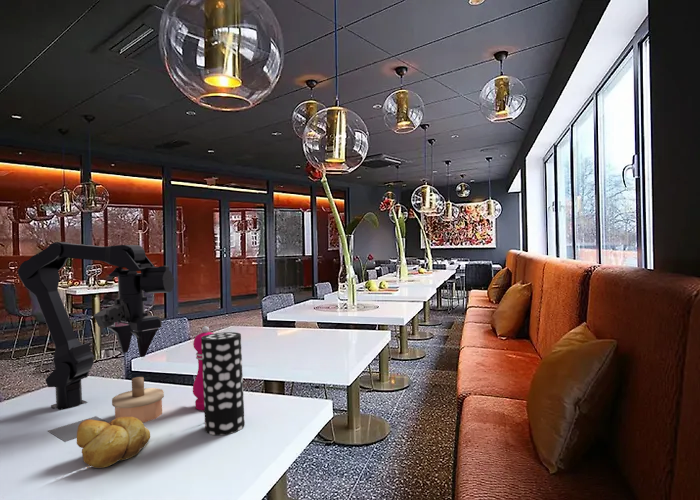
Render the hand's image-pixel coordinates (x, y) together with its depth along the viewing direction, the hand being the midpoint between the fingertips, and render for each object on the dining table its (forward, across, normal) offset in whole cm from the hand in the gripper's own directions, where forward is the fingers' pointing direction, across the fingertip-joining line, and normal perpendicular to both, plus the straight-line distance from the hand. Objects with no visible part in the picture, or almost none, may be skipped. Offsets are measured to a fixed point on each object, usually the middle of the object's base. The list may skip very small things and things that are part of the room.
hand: (133, 354), depth 115 cm
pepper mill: (+13, +17, +10) cm, 24 cm away
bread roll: (+13, +26, -16) cm, 33 cm away
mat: (+13, +6, -15) cm, 21 cm away
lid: (+9, +10, -4) cm, 14 cm away
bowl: (+13, +10, -4) cm, 17 cm away
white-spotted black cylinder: (+13, +32, +4) cm, 35 cm away
